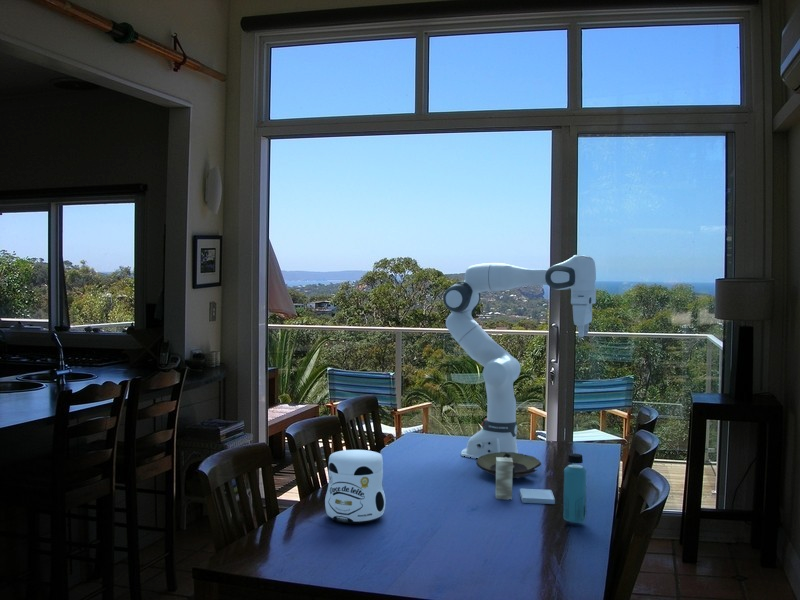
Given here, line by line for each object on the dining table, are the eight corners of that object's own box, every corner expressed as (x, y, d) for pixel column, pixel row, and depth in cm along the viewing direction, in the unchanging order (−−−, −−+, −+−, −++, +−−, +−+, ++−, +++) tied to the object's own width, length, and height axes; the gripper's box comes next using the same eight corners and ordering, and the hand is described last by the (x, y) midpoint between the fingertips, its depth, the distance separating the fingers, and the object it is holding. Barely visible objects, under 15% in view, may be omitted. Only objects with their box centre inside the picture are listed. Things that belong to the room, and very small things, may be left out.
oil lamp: (548, 471, 261) (549, 450, 261) (521, 492, 235) (522, 468, 235) (490, 462, 272) (491, 442, 272) (459, 481, 246) (459, 459, 245)
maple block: (495, 498, 227) (496, 461, 227) (495, 494, 232) (496, 457, 232) (511, 499, 226) (512, 461, 226) (511, 494, 231) (511, 457, 231)
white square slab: (522, 502, 223) (522, 497, 223) (519, 493, 233) (519, 488, 233) (554, 504, 222) (554, 499, 222) (551, 494, 232) (551, 489, 232)
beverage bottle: (586, 529, 201) (588, 457, 200) (562, 527, 202) (564, 456, 201) (585, 521, 207) (587, 452, 206) (561, 519, 208) (563, 450, 208)
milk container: (330, 530, 196) (331, 465, 195) (320, 510, 213) (321, 450, 212) (391, 526, 201) (393, 461, 200) (377, 506, 217) (378, 447, 217)
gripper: (579, 297, 277) (579, 333, 277) (570, 299, 258) (569, 338, 259) (596, 298, 274) (595, 334, 275) (588, 299, 256) (587, 338, 256)
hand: (583, 336), depth 267 cm, fingers open, 8 cm apart
